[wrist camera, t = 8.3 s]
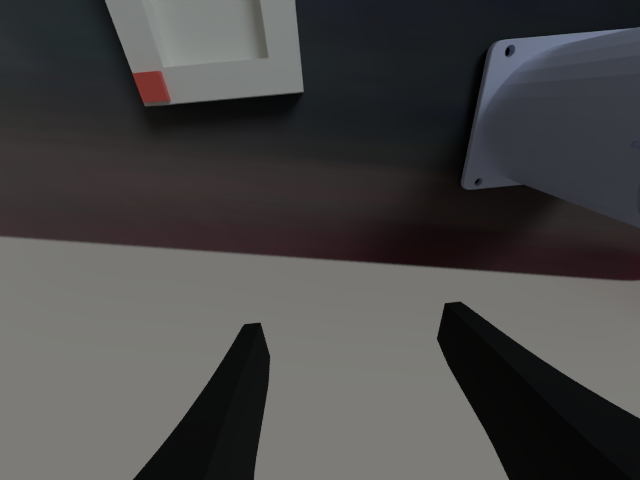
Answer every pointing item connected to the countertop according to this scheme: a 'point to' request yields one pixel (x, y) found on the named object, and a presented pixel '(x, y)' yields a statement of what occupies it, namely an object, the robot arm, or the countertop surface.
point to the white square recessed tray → (209, 48)
